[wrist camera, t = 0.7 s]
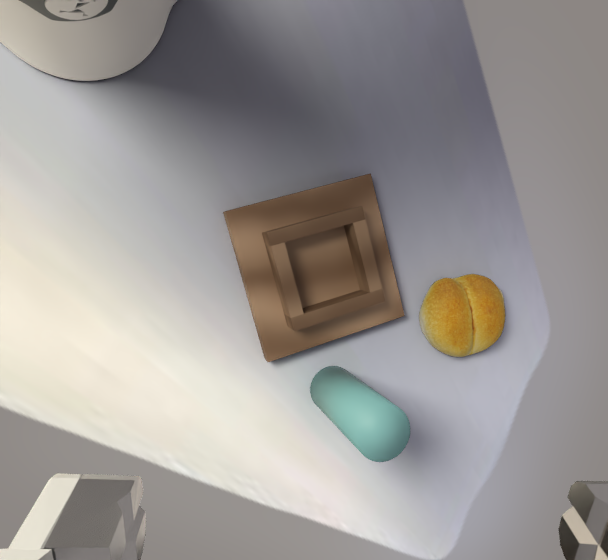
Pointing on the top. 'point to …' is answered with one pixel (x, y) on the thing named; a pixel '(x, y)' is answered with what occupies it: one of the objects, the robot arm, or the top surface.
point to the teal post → (361, 414)
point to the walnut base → (315, 265)
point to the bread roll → (462, 315)
